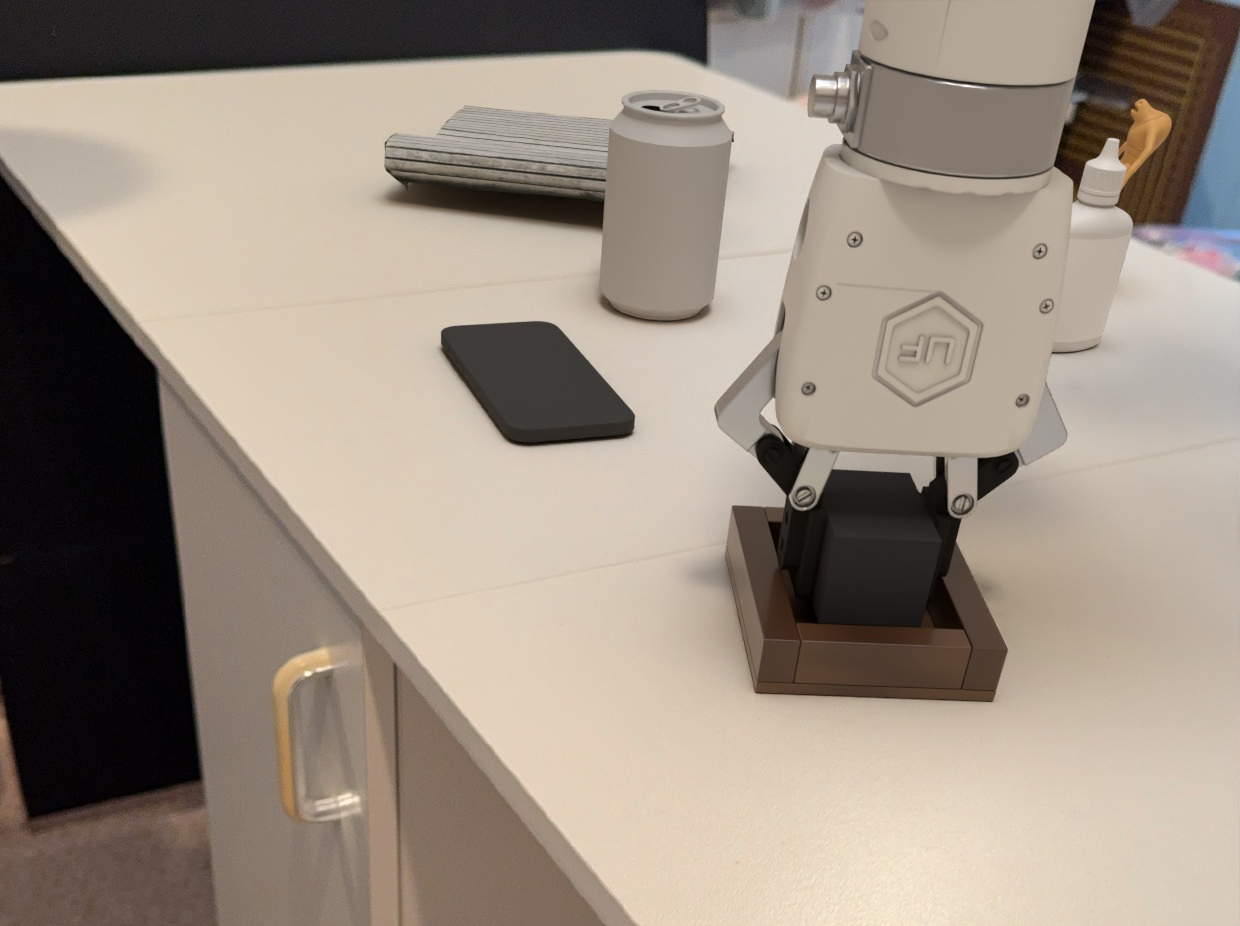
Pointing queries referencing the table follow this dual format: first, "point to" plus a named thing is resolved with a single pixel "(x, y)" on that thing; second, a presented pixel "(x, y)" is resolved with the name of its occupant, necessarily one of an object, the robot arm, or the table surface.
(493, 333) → the phone
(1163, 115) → the figurine
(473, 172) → the mat
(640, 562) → the table surface
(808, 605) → the socket
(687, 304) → the can
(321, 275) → the table surface
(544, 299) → the table surface
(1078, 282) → the eye dropper bottle
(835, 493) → the block
